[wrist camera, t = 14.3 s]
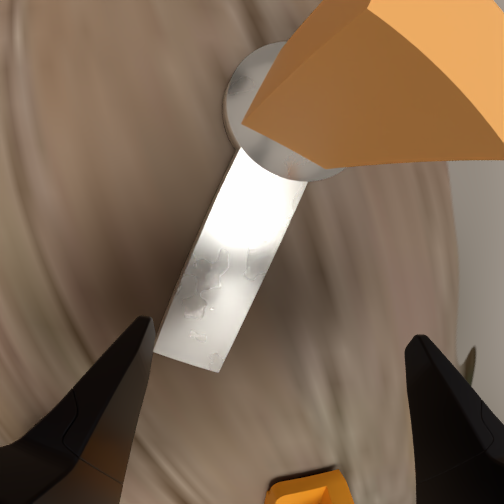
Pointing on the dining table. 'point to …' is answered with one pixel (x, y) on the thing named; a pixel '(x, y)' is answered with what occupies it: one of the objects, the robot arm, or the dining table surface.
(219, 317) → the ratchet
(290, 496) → the bracket
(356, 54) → the orange rectangular block
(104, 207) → the dining table surface
